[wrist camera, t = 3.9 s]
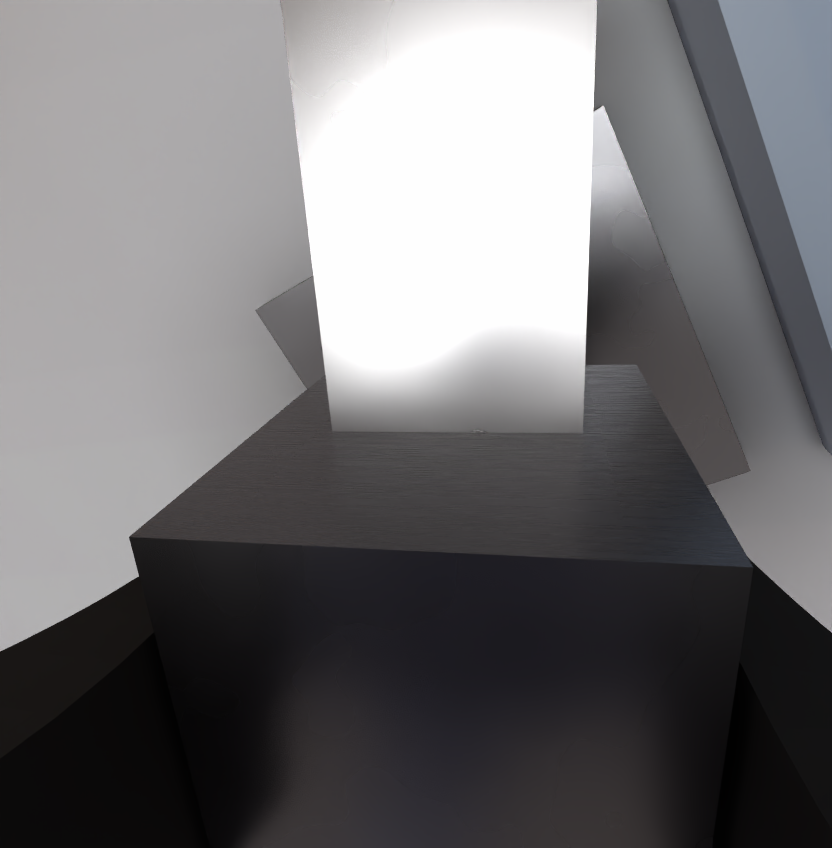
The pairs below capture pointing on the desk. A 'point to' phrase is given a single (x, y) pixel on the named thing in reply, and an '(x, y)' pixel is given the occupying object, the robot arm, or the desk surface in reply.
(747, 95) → the tray
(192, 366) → the desk surface
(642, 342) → the stud plate
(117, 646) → the robot arm
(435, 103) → the strut
